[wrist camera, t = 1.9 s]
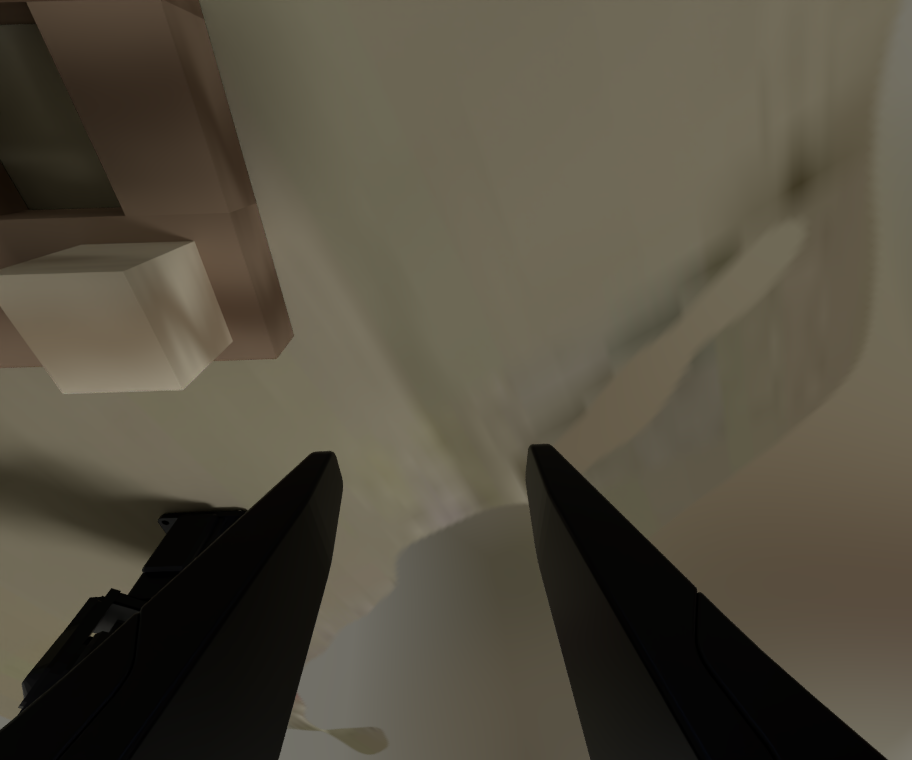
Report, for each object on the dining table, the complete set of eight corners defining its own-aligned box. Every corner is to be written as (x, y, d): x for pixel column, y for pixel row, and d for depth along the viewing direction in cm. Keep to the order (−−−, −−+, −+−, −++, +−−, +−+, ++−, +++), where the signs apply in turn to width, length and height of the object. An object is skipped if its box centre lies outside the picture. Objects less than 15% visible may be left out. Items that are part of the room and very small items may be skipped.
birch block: (232, 341, 18) (182, 390, 14) (135, 344, 18) (62, 394, 14) (194, 241, 15) (123, 271, 12) (81, 244, 15) (-22, 275, 12)
